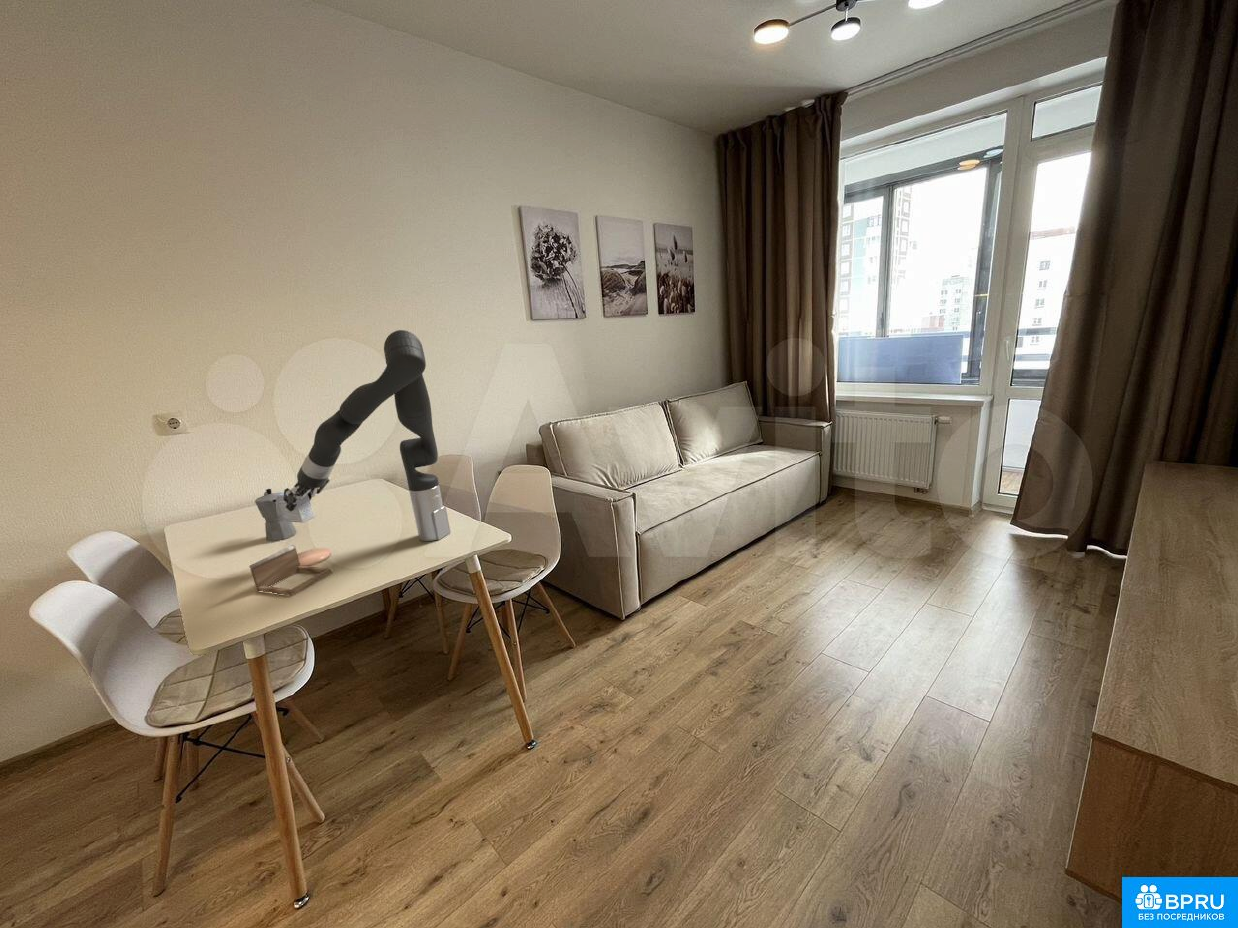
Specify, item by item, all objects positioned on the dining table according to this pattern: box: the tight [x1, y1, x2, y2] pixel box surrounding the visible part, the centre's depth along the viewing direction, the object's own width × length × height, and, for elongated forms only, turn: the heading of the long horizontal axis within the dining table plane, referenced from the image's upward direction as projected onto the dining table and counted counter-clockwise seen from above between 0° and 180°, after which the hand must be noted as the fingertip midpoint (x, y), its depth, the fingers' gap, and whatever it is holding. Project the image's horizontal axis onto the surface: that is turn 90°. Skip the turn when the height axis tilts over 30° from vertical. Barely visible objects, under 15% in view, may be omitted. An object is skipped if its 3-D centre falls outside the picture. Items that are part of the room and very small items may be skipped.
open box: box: [248, 544, 333, 597], centre depth 143 cm, size 13×13×8 cm
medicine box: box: [277, 492, 315, 523], centre depth 154 cm, size 8×4×9 cm, turn 71°
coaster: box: [297, 547, 332, 567], centre depth 159 cm, size 12×12×1 cm
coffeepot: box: [254, 488, 297, 542], centre depth 179 cm, size 15×9×18 cm, turn 44°
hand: (297, 505), depth 154 cm, fingers closed on medicine box, 4 cm apart
